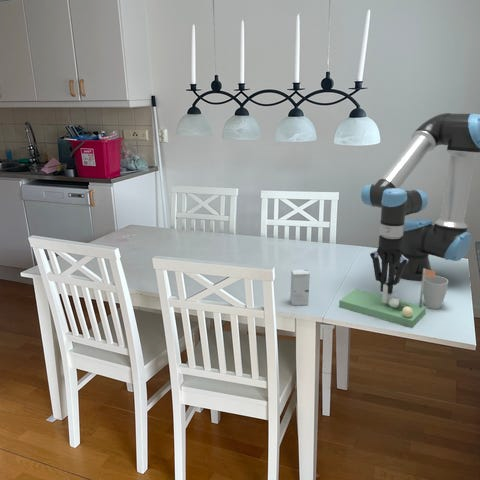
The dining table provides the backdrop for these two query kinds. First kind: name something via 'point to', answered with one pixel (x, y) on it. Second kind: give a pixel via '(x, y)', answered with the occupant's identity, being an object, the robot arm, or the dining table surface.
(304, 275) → the skincare box
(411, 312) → the yellow ball
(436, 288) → the cup
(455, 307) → the dining table surface
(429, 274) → the flag
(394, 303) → the ball
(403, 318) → the green
